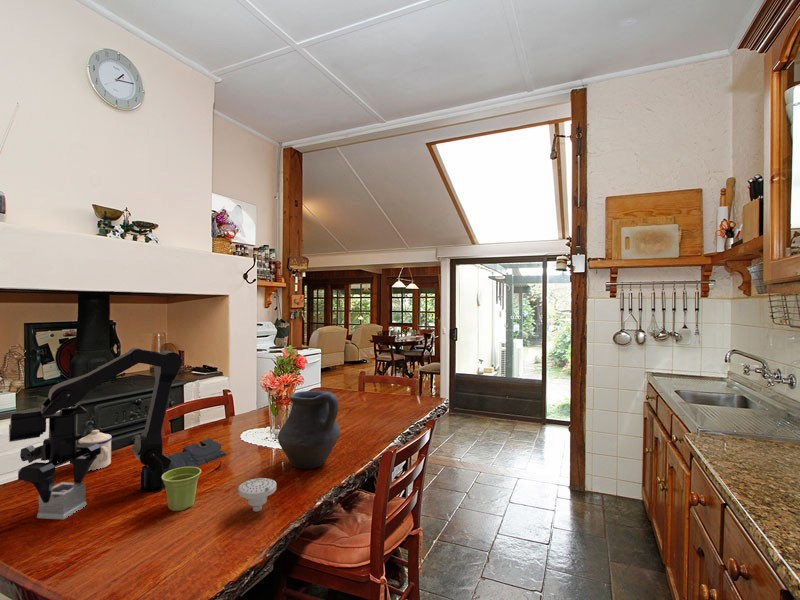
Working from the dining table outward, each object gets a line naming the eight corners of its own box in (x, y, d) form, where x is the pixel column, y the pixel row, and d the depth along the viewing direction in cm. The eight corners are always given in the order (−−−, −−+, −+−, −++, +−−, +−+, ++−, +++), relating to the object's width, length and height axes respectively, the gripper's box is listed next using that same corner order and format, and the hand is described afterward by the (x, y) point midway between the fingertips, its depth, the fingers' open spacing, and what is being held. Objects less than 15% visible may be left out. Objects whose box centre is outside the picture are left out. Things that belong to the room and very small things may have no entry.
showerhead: (252, 493, 104) (231, 482, 110) (252, 523, 104) (231, 510, 110) (285, 481, 111) (263, 471, 118) (284, 509, 111) (263, 497, 118)
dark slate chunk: (144, 468, 138) (144, 453, 138) (202, 447, 158) (202, 435, 158) (175, 477, 131) (175, 462, 131) (231, 454, 151) (232, 441, 151)
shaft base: (86, 505, 112) (86, 484, 112) (63, 519, 105) (63, 496, 105) (61, 504, 112) (61, 483, 112) (37, 518, 105) (37, 495, 105)
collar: (85, 502, 111) (85, 483, 111) (63, 514, 105) (63, 494, 105) (61, 501, 112) (61, 482, 112) (38, 513, 105) (38, 493, 105)
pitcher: (308, 448, 157) (309, 381, 157) (355, 460, 146) (356, 388, 146) (264, 467, 139) (265, 391, 139) (314, 482, 128) (315, 399, 128)
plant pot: (156, 516, 106) (157, 482, 106) (165, 499, 115) (166, 468, 116) (197, 512, 109) (197, 478, 109) (203, 496, 118) (203, 464, 118)
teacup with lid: (72, 467, 136) (72, 431, 136) (103, 458, 144) (103, 424, 144) (89, 476, 130) (90, 438, 130) (121, 466, 138) (122, 430, 138)
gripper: (65, 421, 118) (64, 477, 118) (-4, 444, 100) (-5, 510, 99) (102, 423, 117) (101, 479, 117) (41, 445, 99) (39, 512, 99)
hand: (62, 493), depth 108 cm, fingers open, 9 cm apart
